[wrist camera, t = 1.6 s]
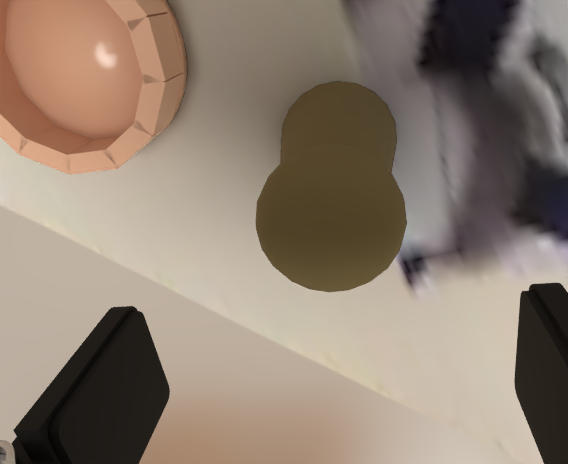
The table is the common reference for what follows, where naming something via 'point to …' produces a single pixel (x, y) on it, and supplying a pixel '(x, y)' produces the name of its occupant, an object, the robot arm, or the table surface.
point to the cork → (333, 191)
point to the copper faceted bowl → (88, 79)
